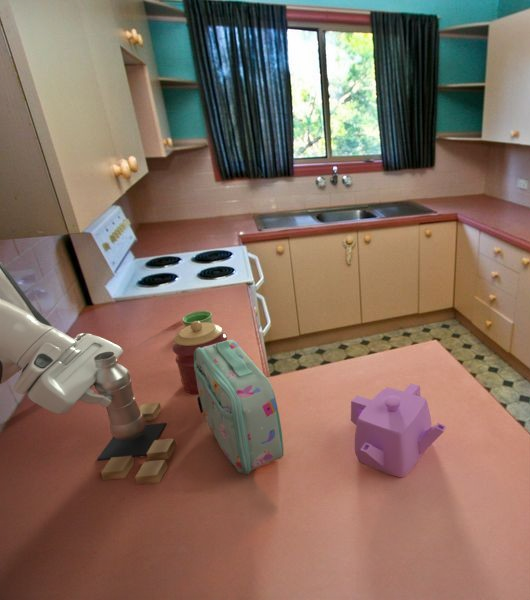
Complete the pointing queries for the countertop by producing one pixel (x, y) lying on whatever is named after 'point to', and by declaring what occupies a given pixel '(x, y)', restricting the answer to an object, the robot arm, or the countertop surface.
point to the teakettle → (393, 429)
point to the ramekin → (197, 317)
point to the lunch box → (238, 405)
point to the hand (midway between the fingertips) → (119, 392)
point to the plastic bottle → (119, 398)
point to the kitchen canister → (187, 345)
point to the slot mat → (133, 444)
